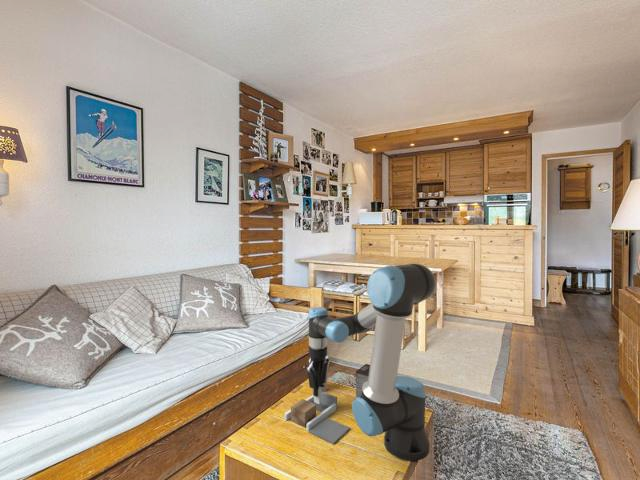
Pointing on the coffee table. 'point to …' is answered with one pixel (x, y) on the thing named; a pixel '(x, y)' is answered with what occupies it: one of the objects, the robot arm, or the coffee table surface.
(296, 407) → the walnut block
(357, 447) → the coffee table surface
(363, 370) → the coffee box
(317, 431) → the slate coaster
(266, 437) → the coffee table surface
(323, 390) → the coffee cup
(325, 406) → the channel
